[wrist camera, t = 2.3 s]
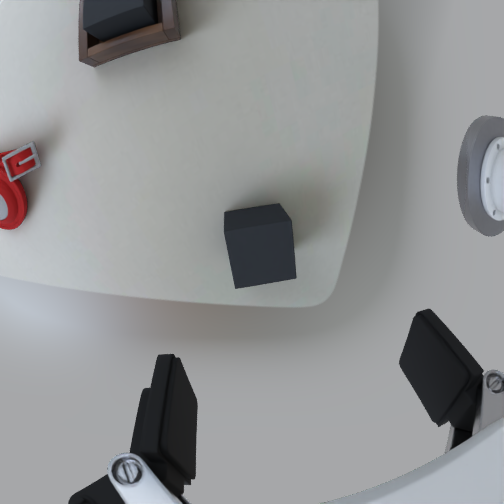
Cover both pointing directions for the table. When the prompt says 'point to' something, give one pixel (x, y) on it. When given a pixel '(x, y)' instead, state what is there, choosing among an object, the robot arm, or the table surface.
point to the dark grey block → (260, 245)
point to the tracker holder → (15, 184)
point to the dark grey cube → (117, 17)
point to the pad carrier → (129, 36)
